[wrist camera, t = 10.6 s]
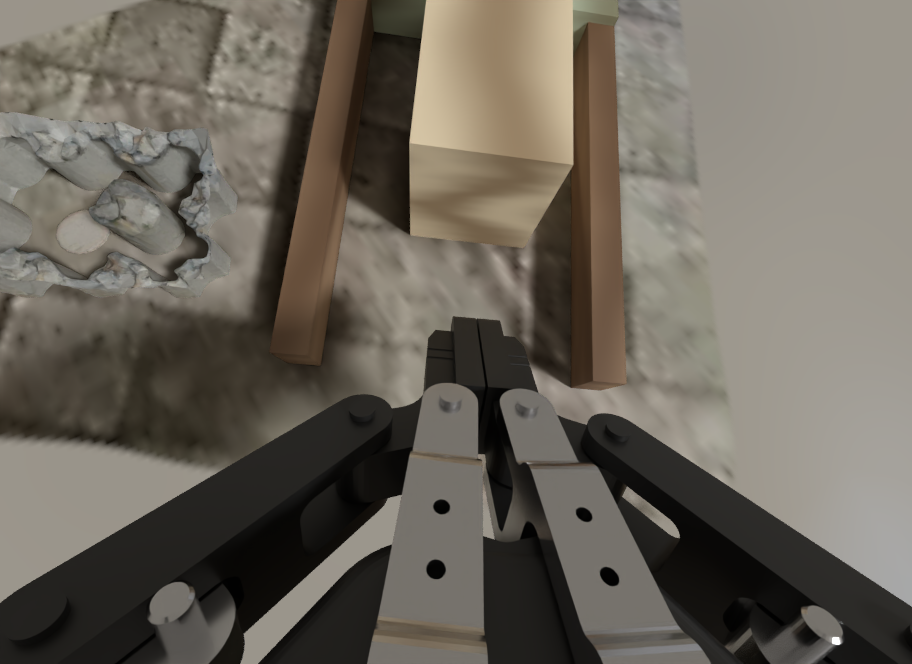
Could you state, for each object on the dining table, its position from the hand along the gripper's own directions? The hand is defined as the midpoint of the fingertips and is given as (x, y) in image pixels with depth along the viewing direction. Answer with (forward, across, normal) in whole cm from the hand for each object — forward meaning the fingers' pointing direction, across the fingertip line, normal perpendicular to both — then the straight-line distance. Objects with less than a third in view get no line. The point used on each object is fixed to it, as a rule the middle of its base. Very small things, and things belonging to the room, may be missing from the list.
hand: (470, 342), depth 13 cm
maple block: (+14, 0, -4) cm, 15 cm away
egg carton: (+9, +16, +1) cm, 19 cm away
